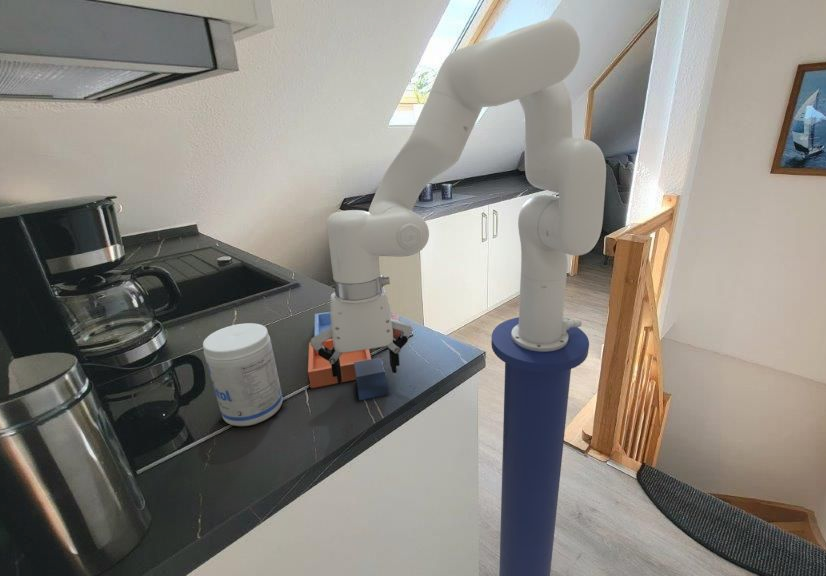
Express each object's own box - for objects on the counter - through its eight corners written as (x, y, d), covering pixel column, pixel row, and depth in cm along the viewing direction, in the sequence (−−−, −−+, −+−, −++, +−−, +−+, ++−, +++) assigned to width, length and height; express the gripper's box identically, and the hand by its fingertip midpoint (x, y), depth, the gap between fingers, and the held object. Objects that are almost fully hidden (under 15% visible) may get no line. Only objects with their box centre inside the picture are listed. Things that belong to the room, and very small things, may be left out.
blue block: (383, 379, 78) (381, 357, 76) (387, 394, 74) (384, 371, 72) (357, 384, 77) (353, 362, 75) (359, 400, 72) (356, 377, 70)
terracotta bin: (367, 347, 89) (365, 333, 88) (373, 376, 79) (371, 360, 78) (311, 357, 86) (309, 342, 85) (310, 388, 76) (307, 372, 74)
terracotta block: (398, 331, 96) (396, 312, 94) (402, 342, 91) (400, 322, 89) (377, 335, 94) (374, 316, 92) (379, 345, 90) (377, 325, 88)
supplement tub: (211, 418, 68) (186, 342, 63) (259, 387, 76) (241, 317, 71) (249, 436, 64) (226, 357, 59) (296, 401, 72) (280, 328, 66)
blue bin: (365, 319, 102) (363, 306, 100) (370, 341, 92) (369, 327, 90) (317, 327, 98) (314, 313, 97) (316, 350, 88) (314, 336, 87)
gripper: (405, 273, 73) (409, 355, 79) (303, 284, 68) (316, 371, 74) (413, 288, 66) (418, 376, 73) (301, 301, 61) (316, 395, 68)
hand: (367, 373), depth 73 cm, fingers open, 9 cm apart
